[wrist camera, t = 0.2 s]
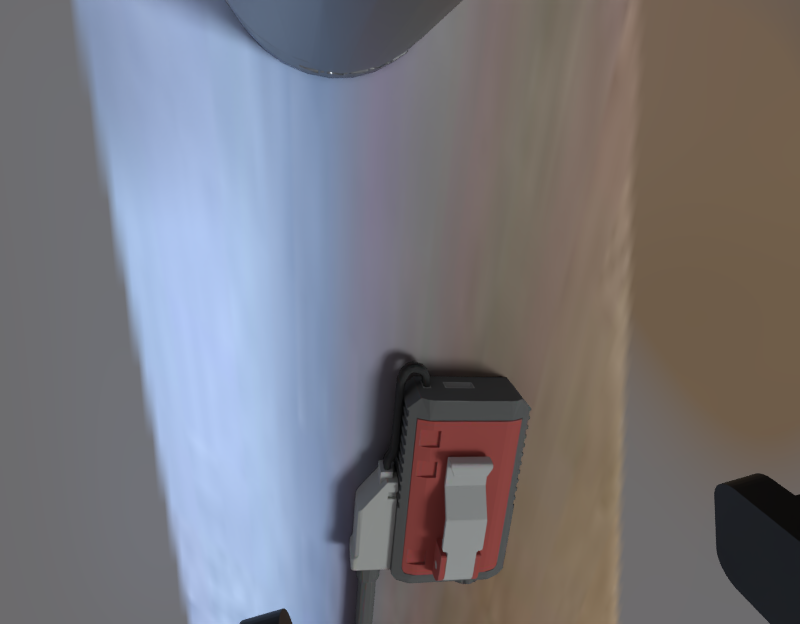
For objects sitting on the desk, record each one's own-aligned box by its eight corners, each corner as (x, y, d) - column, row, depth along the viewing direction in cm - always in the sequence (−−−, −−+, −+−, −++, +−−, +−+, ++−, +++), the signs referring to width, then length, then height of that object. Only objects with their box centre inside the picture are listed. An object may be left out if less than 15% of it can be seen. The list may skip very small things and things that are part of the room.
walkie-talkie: (360, 351, 27) (341, 642, 33) (368, 390, 23) (345, 714, 29) (521, 355, 29) (474, 633, 35) (555, 392, 24) (495, 700, 31)
